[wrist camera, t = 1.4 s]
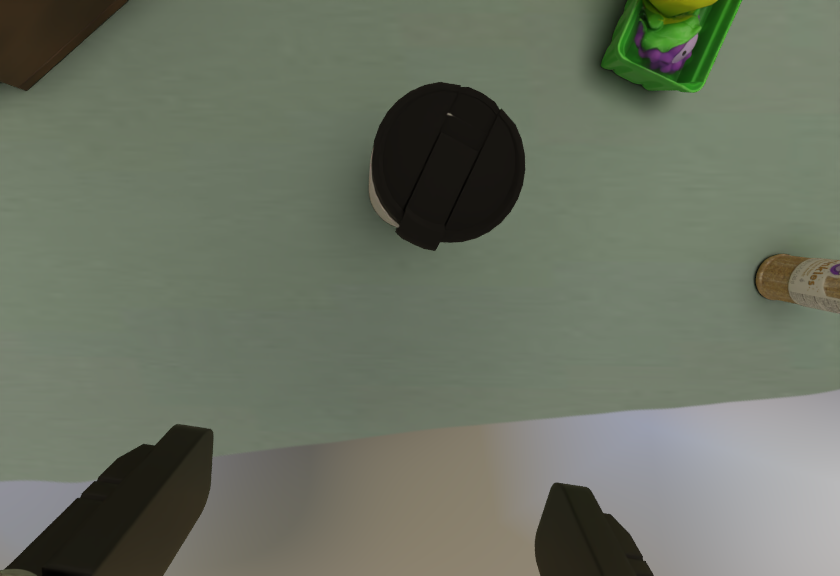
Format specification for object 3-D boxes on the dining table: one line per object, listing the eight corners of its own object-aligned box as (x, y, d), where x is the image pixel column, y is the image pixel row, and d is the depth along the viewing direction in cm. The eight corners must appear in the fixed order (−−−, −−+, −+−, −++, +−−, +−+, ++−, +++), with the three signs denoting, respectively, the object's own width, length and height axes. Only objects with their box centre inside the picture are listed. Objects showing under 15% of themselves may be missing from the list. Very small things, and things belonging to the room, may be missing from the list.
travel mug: (354, 211, 35) (338, 208, 16) (388, 137, 35) (416, 38, 15) (421, 243, 36) (484, 278, 17) (455, 172, 36) (562, 123, 16)
